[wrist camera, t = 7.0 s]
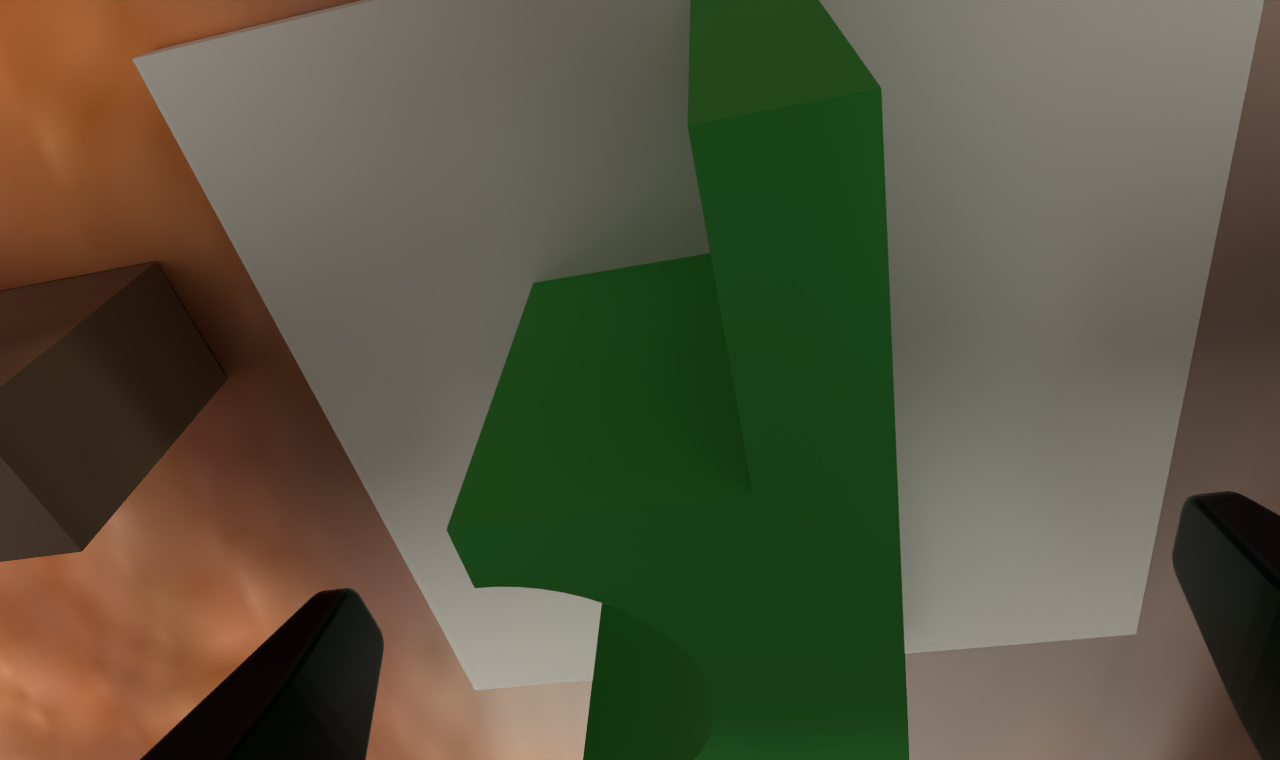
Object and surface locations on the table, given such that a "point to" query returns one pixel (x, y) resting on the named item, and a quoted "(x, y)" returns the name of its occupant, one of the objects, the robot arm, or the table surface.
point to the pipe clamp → (723, 429)
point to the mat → (675, 228)
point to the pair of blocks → (90, 400)
